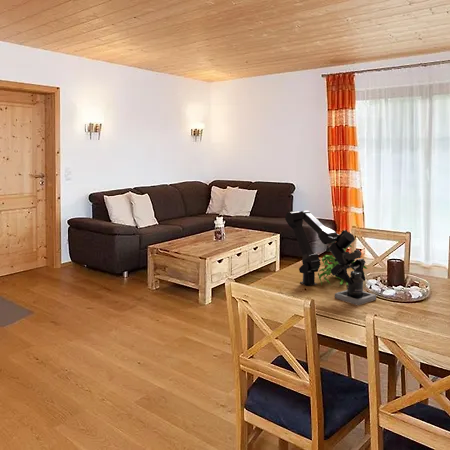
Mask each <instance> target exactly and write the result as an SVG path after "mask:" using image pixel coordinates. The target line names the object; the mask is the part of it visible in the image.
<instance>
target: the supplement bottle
mask: <svg viewBox="0 0 450 450" xmlns="http://www.w3.org/2000/svg"><path fill="white" fill-rule="evenodd" d="M361 274H362V273H361V272H360V271H354V270H352V271H350V275H349V277H350V279H351V281H352V283H353V284H352V285H351V284H349V283H348V285H347V289H346V290H347V296H349V297H352V298H355V299H360V298H362V297H363V291H364V281H363V279H362V278H361V276H362V275H361Z"/></svg>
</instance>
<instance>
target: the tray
mask: <svg viewBox="0 0 450 450" xmlns="http://www.w3.org/2000/svg"><path fill="white" fill-rule="evenodd" d="M334 298H335V299H336V300H339V301H343V302H346V303H349V304H352V305H355V306H361V305H364V304H367V303H370V302H373V301H375V300H377V294H375V293H371V292H367V291H364V290H363V297H362V298H360V299H355V298H352V297H349V296H347V289H345V290H341V291H337V292H335V293H334Z"/></svg>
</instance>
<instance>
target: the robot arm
mask: <svg viewBox="0 0 450 450" xmlns="http://www.w3.org/2000/svg"><path fill="white" fill-rule="evenodd" d="M284 219H285V222H286V224H287V225H288V227H290V228H291V229H292V230H293V232H294V236H295V237H296V238H295V239H296V241H297V243H298V245H299V248H300V251H301V254H302V259H301V262H302V265H301V266H300V267H299V268H298V271H299V273H301V274H302V281H300V282H299V283H300V284H302V285H303V286H306V287H309V286H316V285H318V283H317V282H315V281H316V280H315V279H316V277H315V276H316V274H315V273H318V272H319V270H320V267H321V262H322V259H320V257H319V254H318V253H314V252H313V250H312V248H311V245H310V243H309V240H308V238H307V235H306V232H305V229H304V227H303V223H304V222H305V223H306V224H307V225H308V226H309V227H310V228H311V229H312V230H313V231H314V232H315V233H316V234H317V236H318V239H319V241H321V243H322V244H323V245H327V246H326V251H325V252H327V253H329V252H330V253H331V255H333V257H335V262H338V263H339V264H336V265H335V266H334V267H333V268H332V269H331V275H332V276H337V277H339V278H341V279H340V280H342V279H343V280H344V282H345V283H346V282H347V283H349V284H351V285H352V284H353V283H352V281H351V279H350V277H351V276H350V275H349V273H348V269H352V271H360V272H361V273H362V274H361V275H362V276H361V278H362V279H363V282H365V281H366V275H365V271H364V268H363V267H364V266H366V261H365V259H364V258H362V257H361V256H362V251H361V250H360V249H359V248H358V249H355V250H354V251H353V252H349V251H347V250H346V251H345V250H344V248H346V249H348V248H349V247H348V246H349V245H352V244H353V243H354V242H355V240H356V238H355V236H354V234H352V233H351V232H349V231H347V229H345V230H342V231H341V233H340V234H338V233H337V232H336V231H335V230H333V229H332V228H329V227H327V226H325V225H324V224H323V223H322V222H321V221H319V219H318V218H316V217H315V216H314V215H313V214H312V213H311V211H310V210H302V211H299V210H298V211H297V210H294V211H288V212H286V214H285V216H284ZM329 244H330V245H329ZM347 247H348V248H347ZM354 261H355V262H354ZM352 262H353V263H352Z"/></svg>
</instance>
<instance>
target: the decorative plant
mask: <svg viewBox="0 0 450 450" xmlns="http://www.w3.org/2000/svg"><path fill="white" fill-rule="evenodd" d="M348 248H353V246H352V244H350V245H349V246H348V247H347V248H344V250H345V251H346V252H347V250H348ZM355 261H356V260H355ZM355 261H354V262H355ZM321 262H322V263H323V265H322V267H324V268H321V269H318V272H317V276H318V279H319V281H320V284H321V285H323V282H322V277H323V280H324V281H326V282H327V283H328V284H329V285H330V286H331V282H330V281H329V279H328V278H327V277H329V276H331V277H333V275H332V273H331V269H332V268H333V267H334V266H335V265H336V264H339V263H338V262H335V257H334V255H333V254H331V255H328V254H325V255H324V256H323V257H322V259H321ZM352 263H353V262H352ZM363 269H366V270H367V269H368V267H367V266H366V265H364V267H363ZM320 272H322V273H320ZM334 276H335V275H334ZM334 278H336V279H339V280H340V282H339V284H340V285H343V284H344V282H345V283H346V284H345V285H346V286H348V283H347V282H346V281H344V280H343V279H341V278H339V277H337V276H335V277H334Z"/></svg>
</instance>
